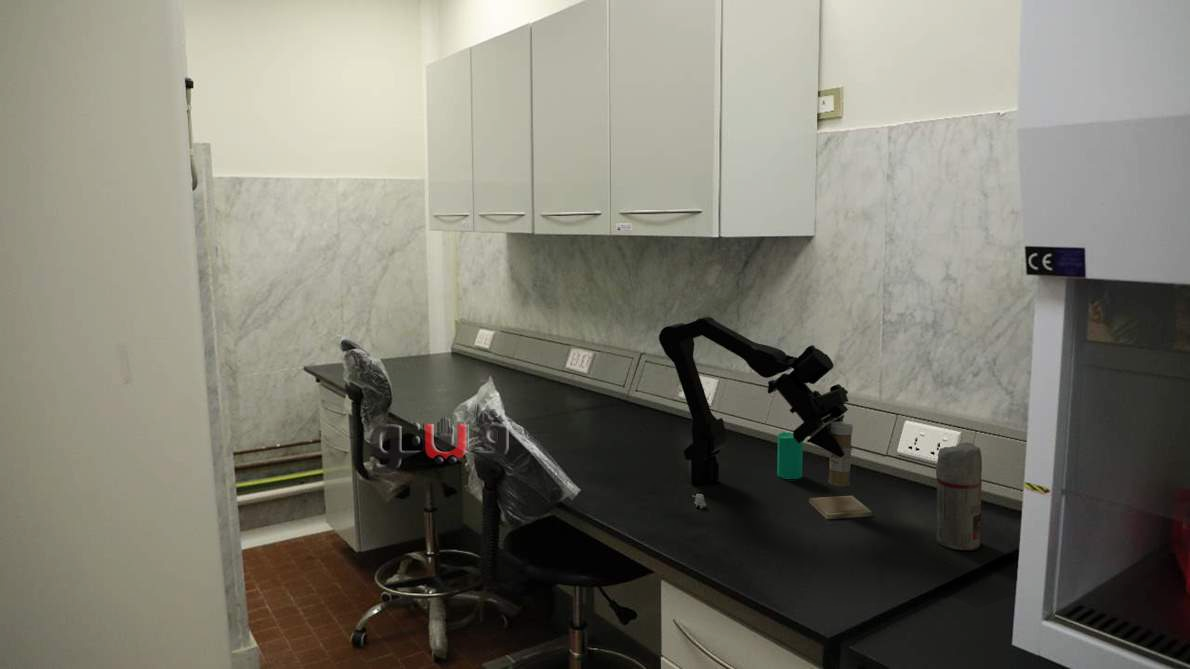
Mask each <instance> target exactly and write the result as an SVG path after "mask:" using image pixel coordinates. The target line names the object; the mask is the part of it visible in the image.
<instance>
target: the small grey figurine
mask: <svg viewBox="0 0 1190 669" xmlns="http://www.w3.org/2000/svg"><path fill="white" fill-rule="evenodd" d="M692 497H694V498H695V499H694V500H695V501H694V505H695V504H696V505H695V508H696V507H698V506H699V507H700V508H699V509H701V508H702V509H703V508H704V507H705V506H706V507H707V503H706V502H705V498H704V497H705V496H704V494H701V493H696V495H692ZM703 506H704V507H703ZM706 507H705V508H706Z"/></svg>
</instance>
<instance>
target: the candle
mask: <svg viewBox="0 0 1190 669" xmlns="http://www.w3.org/2000/svg"><path fill="white" fill-rule="evenodd" d="M803 445H804V441H802V442H801V443H799V444H798V443H797V441H796V440H795V439H794V438H793V432H792V429H791V428H790V429H789V432H786V431H783V432H781V433H778V435H777V458H776V459H777V461H776V463H777V464H776V466H777V469H776V471H777V472H776V476H777V475H778V476H779V477H781V478H784V479H799V478H801V477H802V478H803V453H804V452H803V451H804V450H803V449H804V448H803V447H804V446H803ZM778 476H777V477H778ZM779 477H778V478H779ZM781 478H780V479H781ZM802 478H801V479H802ZM784 479H783V480H784ZM799 480H800V479H799Z"/></svg>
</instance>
